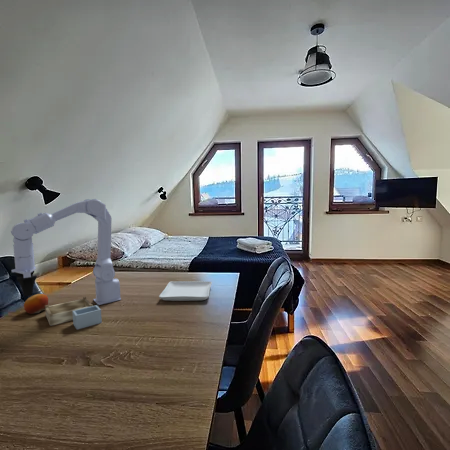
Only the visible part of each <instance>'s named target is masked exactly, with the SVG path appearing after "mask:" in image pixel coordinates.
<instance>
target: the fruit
mask: <svg viewBox="0 0 450 450" xmlns="http://www.w3.org/2000/svg"><path fill="white" fill-rule="evenodd" d="M46 305H48V306H49V297H48V295H46V294H44V293H37V294H34V295H33V294H32V295H31V296H30V297H28V298H27V299H26V300H25V301H24V303H23V309H24V311H25V312H26V313H28V314H29V315H32V314H33V315H34V314H40V312H42V311H44V310H45V306H46Z"/></svg>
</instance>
